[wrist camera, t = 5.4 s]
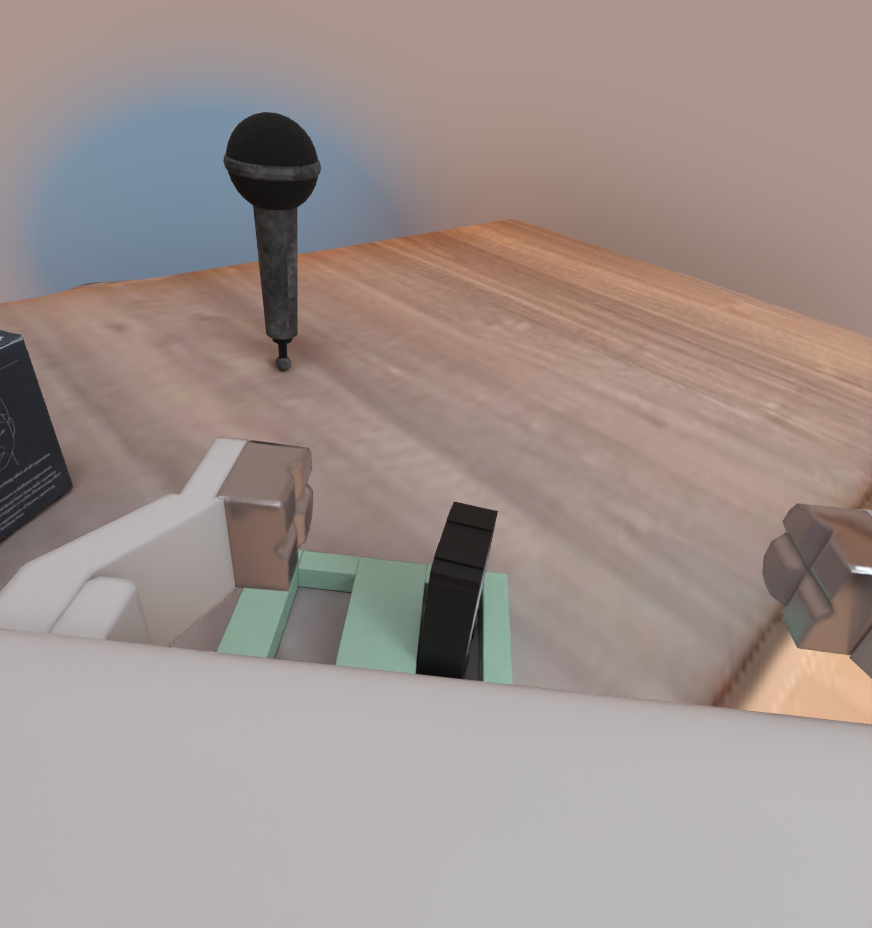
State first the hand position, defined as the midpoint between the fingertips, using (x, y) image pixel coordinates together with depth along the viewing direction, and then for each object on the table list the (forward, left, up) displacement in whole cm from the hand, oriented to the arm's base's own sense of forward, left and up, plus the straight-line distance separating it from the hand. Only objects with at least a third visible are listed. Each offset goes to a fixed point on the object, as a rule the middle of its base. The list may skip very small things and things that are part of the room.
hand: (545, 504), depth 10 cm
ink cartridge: (0, +12, -20) cm, 23 cm away
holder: (-4, +12, -20) cm, 24 cm away
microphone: (-16, +40, -20) cm, 48 cm away
